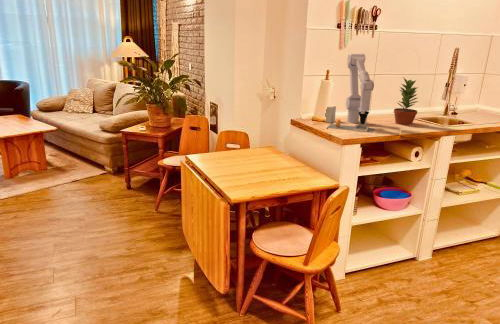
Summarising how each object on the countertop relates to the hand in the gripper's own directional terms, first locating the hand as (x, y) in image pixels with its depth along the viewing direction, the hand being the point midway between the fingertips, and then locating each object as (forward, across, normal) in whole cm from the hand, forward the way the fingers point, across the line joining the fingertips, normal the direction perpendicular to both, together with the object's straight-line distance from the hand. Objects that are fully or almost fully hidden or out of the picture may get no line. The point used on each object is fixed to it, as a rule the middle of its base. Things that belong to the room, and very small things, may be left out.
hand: (362, 123), depth 236 cm
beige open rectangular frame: (+2, +6, 0) cm, 6 cm away
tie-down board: (+3, +5, -6) cm, 9 cm away
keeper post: (+3, +6, -14) cm, 15 cm away
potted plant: (+4, -31, +23) cm, 39 cm away
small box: (+4, -12, -24) cm, 27 cm away
